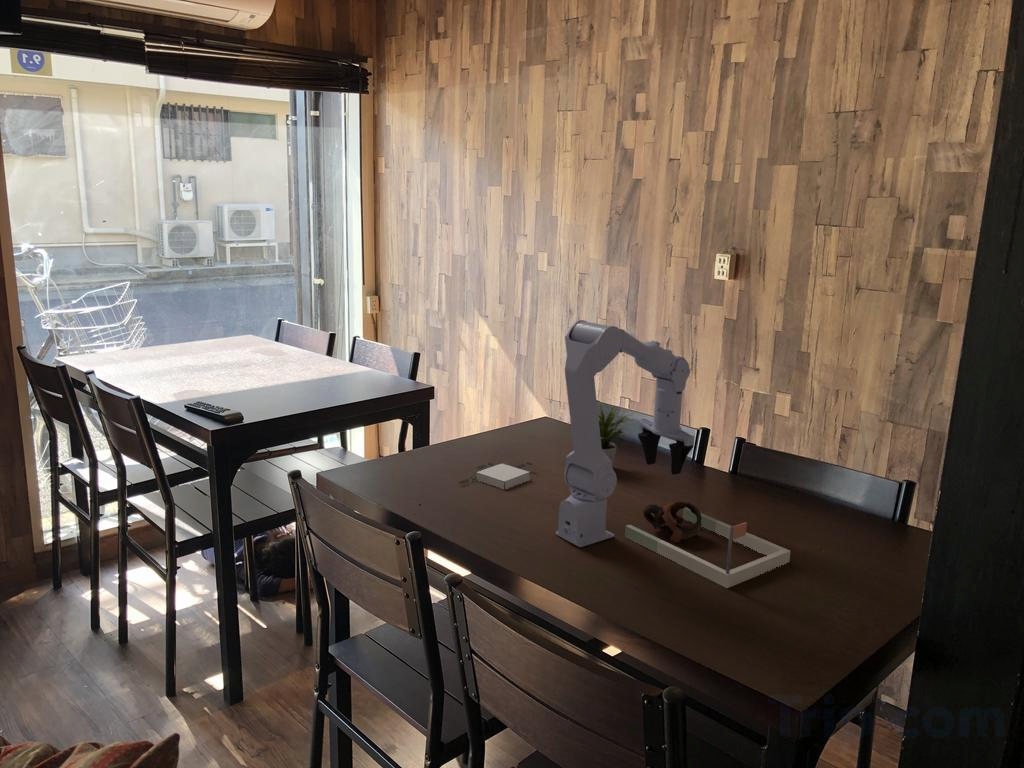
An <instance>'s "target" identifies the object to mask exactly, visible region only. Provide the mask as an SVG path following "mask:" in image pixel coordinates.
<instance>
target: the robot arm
mask: <svg viewBox="0 0 1024 768" xmlns="http://www.w3.org/2000/svg"><path fill="white" fill-rule="evenodd" d="M564 341H565V349H566V351H565V352H566V358H565V359H566V361H565V366H564V377H565V386H566V392H567V393H566V394H567V400H568V409H569V410H568V411H569V417H570V418H569V419H570V427H571V434H572V445H573V450H572V451H571V452H570V453H568V454H567V456H565V469H564V474H563V477H564V478H563V479H564V482H565V484H566V485H567V486H568V487H569V488H568V489H569V492H570V495H569V496H568V497H567V498H566V499H564V500H562V501H560V504H559V507H558V526H557V531H555V535H557V536H558V537H560V538H562V539H564V540H566V541H567V542H569V543H571V544H572V545H574V546H577V547H579V548H583V547H586V546H590V545H593V544H596V543H598V542H601V541H606V540H609V539H612V538H614V537H615V534H614V533H613V532H610V531H608V530H607V529H606V527H607V526H606V524H607V505H608V504H607V503H608V499H609V498H611V495H612V494H613V493H614V491H615V489H616V486H617V483H618V482H617V474H616V473H617V472H615V470H614V468H613V466H612V462H611V460H610V459H609V458H608V456H607V455H606V454H605V453H604V451H603V450H602V447H601V437H600V428H599V421H600V418H599V416H598V415H599V412H598V411H599V410H598V401H597V390H596V382H595V376H596V375H597V374H598V373H601V372H602V371H604V370H605V368H606V367H608V365H610V363H611V362H612V361H613V360H614V359H615V358H616V357H617V356H618V355H619V353H624V354H627V355H628V356H631V357H632V358H634V362H635V365H636V366H638V367H639V368H641V369H642V370H645V371H647V372H648V373H650V374H651V375H652V376H651V377H652V378H654V379H656V380H655V381H656V382H655V395H654V396H655V397H654V408H653V409H654V410H653V411H654V412H653V421H649V420H641V421H639V424H638V430H639V431H641V432H640V433H637V434H638V436H637V438H638V439H639V441H640V443H641V446H642V449H643V453H644V457H645V464H646V465H648V466H650V465H655V464H656V461H657V454H658V448H659V444H660V440H661V437H663V438H666V439H668V440H672V441H675V442H673V443H668V444H669V445H668V448H669V450H670V451H669V452H670V456H671V458H670V459H671V463H670V464H671V466H670V467H671V470H670V471H671V474H672V475H679V474H681V472H682V469H683V467H684V463H685V461H686V459H687V457H688V455H689V454H690V453H691V451H692V450H693V449H694V445H695V436H694V435H692V434H689V433H688V432H686V431H685V430H683V429H682V426H681V415H682V404H683V403H682V402H683V391H685V389H686V383H687V381H688V379H689V377H690V375H691V368H690V365H689V364H690V363H689V362H688V360H687V359H686V358H685V357H683V356H678V355H675V354H673V350H671V349H668V348H663V347H662V346H661V343H660V342H659V341H656V340H650V341H646V342H645V341H644V342H642V341H640V340H639V339H637V338H636V337H634V336H632V335H631V334H630V333H628V332H627V331H626V330H625V329H622V328H619V327H618V326H616V325H605V324H601V323H595V322H590V321H586V320H584V319H578V320H576V321H574V322H573V323H572V325H571V327H570V328H569V329H568V331H567V333H566V334H565V336H564Z"/></svg>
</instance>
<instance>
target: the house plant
mask: <svg viewBox="0 0 1024 768" xmlns="http://www.w3.org/2000/svg"><path fill="white" fill-rule="evenodd" d="M599 407H600V415H599V414H598V418H599V428H600V437H601V447H602V450H603V451H604V453H605V454H606V455H607V456H608V458H609V459H610V460H611V462H612V467H613V466H614V465H613V464H614V461H615V456H616V452H617V448H618V446H617V444H616V443H614V441H615V440H617V438H619V437H621V438H623V439H624V440H626V437H625V435H623V433H624V434H625V432H624V431H623V430H624V429H626V427H621V428H620V429H618V428H617V427H618V426H619V425H620V424H621V423H624V422H627V421H630V420H629V418H627V417H631V416H632V414H628V415H624V416H621V418H619V419H618V420H616V421H615V422H614V419H615V414H616V412H617V409H615V410H614V406H612V407H611V410H610V411H609V413H608V415H607V416H606V419H605V415H604V412H603V411H604V410H603V408H602V406H599ZM614 437H615V438H614Z"/></svg>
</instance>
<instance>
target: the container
mask: <svg viewBox="0 0 1024 768" xmlns="http://www.w3.org/2000/svg"><path fill="white" fill-rule="evenodd" d="M487 465H488V466H490V467H487ZM526 465H531V466H533V463H532V462H530V461H527V462H526V464H525V463H521V464H519V465H516V466H512V465H510V464H506V463H502V462H501V463H499V464H496V465H495V464H494V463H492V462H488V463H487V464H482V465H479V466H477V467H476V469H478V471H476V472H475V477H473V476H470V477H469V479H470V480H471V479H472V480H473V481H477V480H478V481H477V482H480V481H481V482H480V483H483V482H484V483H483V484H486V483H487V484H486V485H489V484H490V485H489V486H491V485H493V486H492V487H494V486H496V487H495V488H497V487H499V488H498V489H500V488H501V489H500V490H503V489H504V490H503V491H505V489H506V490H508V489H511V488H513V486H514V487H516V486H519V485H521V484H523V482H524V483H526V481H527V482H529V481H531V474H532V473H531V471H528V470H524V469H522V468H524V467H526ZM469 479H467V478H466V479H462V480H460V481H458V482H457V483H458V484H462V485H463V484H465V483H467V482H470V480H469ZM518 484H519V485H518ZM515 485H516V486H515ZM510 487H511V488H510Z"/></svg>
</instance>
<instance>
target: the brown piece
mask: <svg viewBox="0 0 1024 768" xmlns="http://www.w3.org/2000/svg"><path fill="white" fill-rule="evenodd" d="M686 507H687V508H689V509H690V510H691V512H692V513H694V514H695V515H696V517H697V521H696V523H694V524H693V523H692V524H689V525H688V524H683V523H684V521H685V520H684V518H683V516H682V517H681V516H680V515H678V514H677V513H678V511H679V510H683V508H686ZM700 513H701V512H700V509H698V507H697V506H695V505H694V504H692V503H691V502H689V501H686V500H681V499H680V500H673V501H670V503H668V504H666V505H663V506H660V505H658V504H654V503H653V504H651V503H649V504H648V505H646V506H644V508H643V510H642V514H643V516H644V519H645V520H646V521H647V523H649V524H651V525H652V527H653V529H654V530H657V527H658V529H659V528H660V527H661V526H663V525H667V526H668V528H669V529H670V530H671V531H672V534H671V536H670V537H669V538H670V541H671V542H673V543H674V542H678V543H680V542H681V541H684V540H687V539H689V538H693V537H694V536H697V535H698V532H700V531H701V528H702V527H701V524H702V523H701V519H702V517H701V514H700ZM678 525H681V528H680V527H679V526H678Z"/></svg>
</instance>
